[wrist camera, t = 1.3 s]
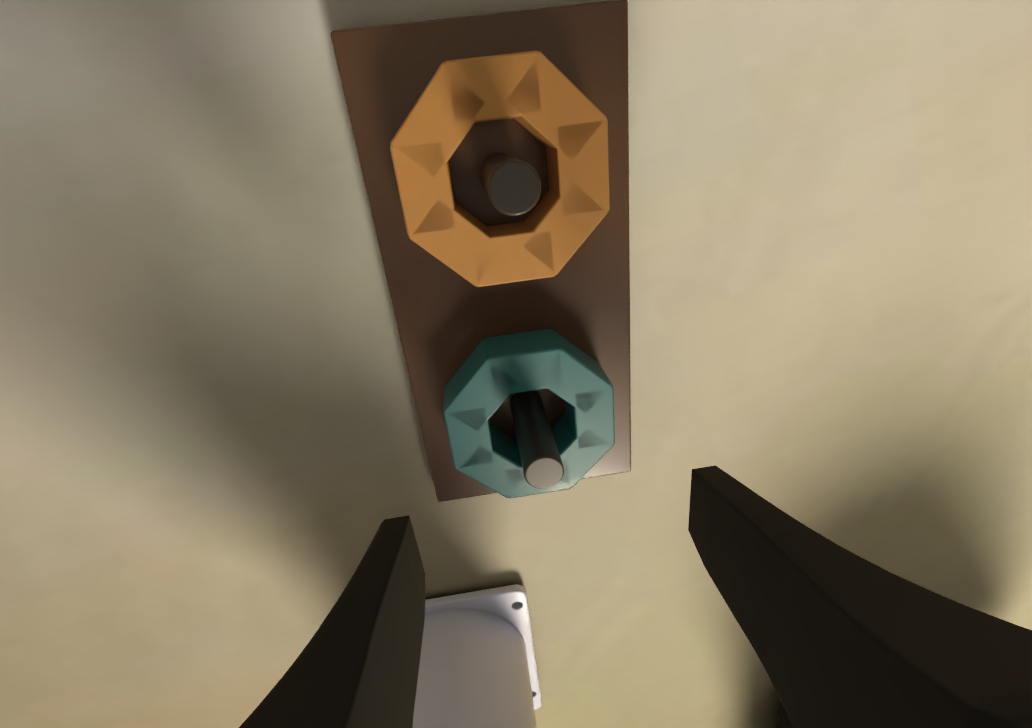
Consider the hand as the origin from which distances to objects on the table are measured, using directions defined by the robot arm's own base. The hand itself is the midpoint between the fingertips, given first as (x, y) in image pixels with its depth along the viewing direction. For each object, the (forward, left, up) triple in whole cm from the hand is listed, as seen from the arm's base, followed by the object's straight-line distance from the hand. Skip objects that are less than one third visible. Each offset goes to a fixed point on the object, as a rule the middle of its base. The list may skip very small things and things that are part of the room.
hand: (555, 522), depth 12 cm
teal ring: (0, 0, -6) cm, 6 cm away
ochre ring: (+8, 0, -6) cm, 10 cm away
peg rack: (+4, 0, -7) cm, 8 cm away
